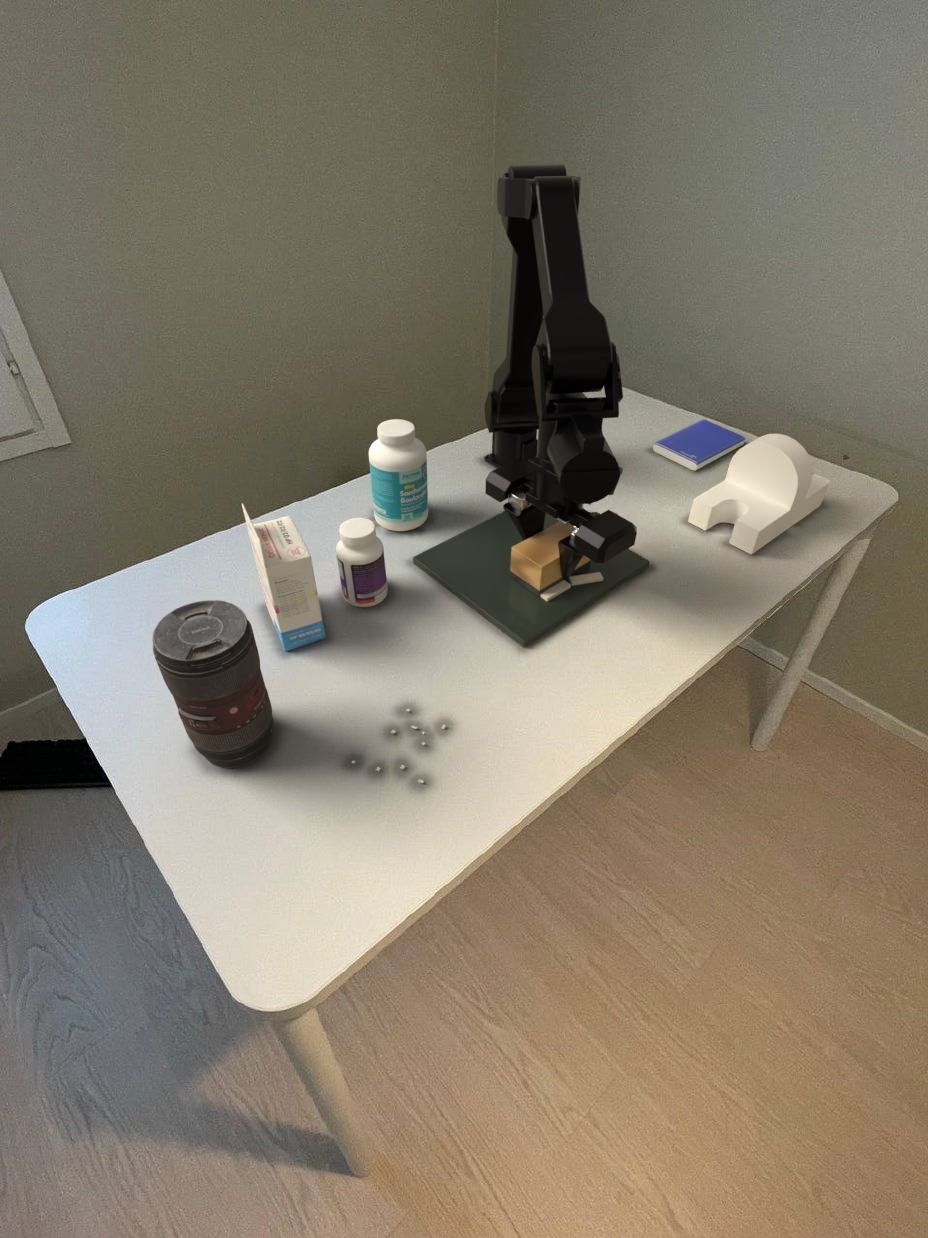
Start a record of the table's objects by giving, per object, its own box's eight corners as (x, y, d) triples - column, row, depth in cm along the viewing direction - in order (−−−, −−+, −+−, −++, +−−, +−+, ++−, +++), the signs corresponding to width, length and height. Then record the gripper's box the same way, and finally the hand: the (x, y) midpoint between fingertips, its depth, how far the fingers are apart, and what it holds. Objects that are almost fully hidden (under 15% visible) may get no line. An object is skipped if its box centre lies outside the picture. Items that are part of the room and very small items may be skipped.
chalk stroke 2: (571, 585, 84) (572, 582, 84) (568, 579, 85) (568, 576, 85) (603, 581, 85) (603, 577, 85) (599, 574, 86) (599, 571, 86)
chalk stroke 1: (547, 601, 82) (547, 598, 82) (539, 596, 83) (540, 593, 83) (570, 587, 84) (571, 584, 84) (563, 582, 85) (563, 579, 84)
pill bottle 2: (409, 539, 93) (403, 447, 84) (363, 523, 96) (353, 432, 87) (439, 512, 98) (436, 422, 89) (394, 497, 100) (387, 408, 91)
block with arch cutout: (751, 555, 91) (777, 480, 83) (687, 521, 96) (706, 448, 88) (822, 504, 99) (851, 432, 92) (760, 476, 105) (783, 406, 97)
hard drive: (697, 462, 105) (746, 436, 110) (654, 441, 109) (702, 417, 115) (695, 471, 106) (743, 445, 112) (652, 450, 110) (700, 426, 116)
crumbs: (390, 703, 72) (390, 702, 72) (454, 724, 70) (454, 723, 70) (351, 762, 66) (351, 762, 66) (420, 787, 64) (420, 787, 64)
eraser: (509, 576, 86) (511, 547, 83) (561, 547, 90) (564, 518, 87) (538, 597, 83) (541, 567, 80) (590, 566, 87) (595, 536, 84)
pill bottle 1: (396, 586, 86) (390, 520, 79) (373, 613, 82) (365, 546, 76) (357, 575, 87) (349, 509, 81) (334, 601, 84) (323, 534, 77)
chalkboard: (413, 563, 89) (412, 557, 89) (536, 500, 100) (536, 494, 99) (523, 647, 78) (523, 641, 77) (648, 567, 89) (650, 561, 88)
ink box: (328, 639, 79) (308, 531, 69) (284, 653, 77) (258, 544, 67) (306, 594, 85) (285, 489, 75) (265, 607, 83) (238, 500, 73)
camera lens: (293, 749, 68) (263, 638, 58) (210, 788, 65) (163, 677, 54) (262, 696, 73) (230, 584, 63) (184, 730, 70) (137, 618, 59)
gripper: (681, 460, 74) (653, 576, 84) (553, 399, 84) (543, 509, 95) (611, 498, 68) (591, 617, 79) (483, 428, 79) (481, 541, 89)
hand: (550, 566), depth 86 cm, fingers closed on eraser, 5 cm apart
